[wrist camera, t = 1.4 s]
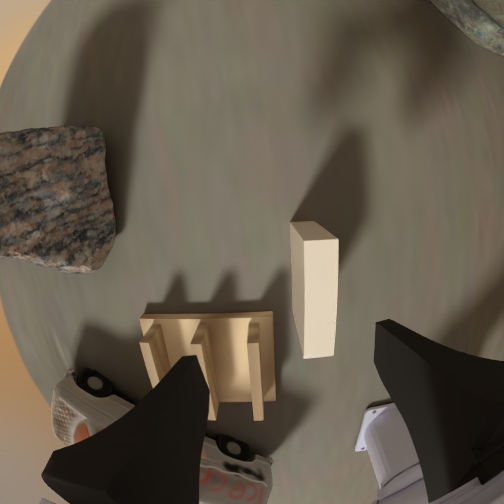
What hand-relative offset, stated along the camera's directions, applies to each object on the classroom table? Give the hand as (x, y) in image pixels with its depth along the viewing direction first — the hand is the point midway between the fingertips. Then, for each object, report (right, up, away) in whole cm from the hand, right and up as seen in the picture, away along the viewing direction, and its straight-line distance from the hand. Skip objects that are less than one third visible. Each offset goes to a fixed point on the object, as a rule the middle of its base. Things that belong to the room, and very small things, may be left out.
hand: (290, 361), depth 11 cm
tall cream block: (+2, +3, +11) cm, 12 cm away
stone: (-17, +9, +11) cm, 22 cm away
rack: (-5, -5, +13) cm, 15 cm away
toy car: (-12, -17, +17) cm, 27 cm away
